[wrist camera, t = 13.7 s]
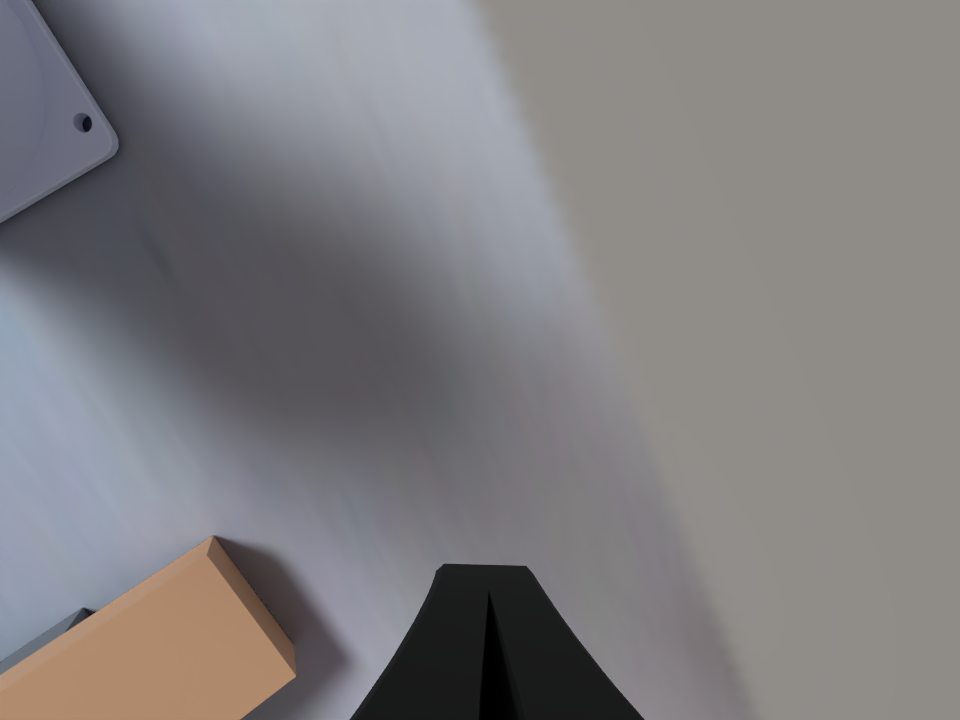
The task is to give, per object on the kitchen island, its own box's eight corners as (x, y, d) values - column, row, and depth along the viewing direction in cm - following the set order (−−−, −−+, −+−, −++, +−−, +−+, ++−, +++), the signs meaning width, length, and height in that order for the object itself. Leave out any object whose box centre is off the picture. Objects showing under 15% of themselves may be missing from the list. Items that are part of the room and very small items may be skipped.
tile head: (213, 535, 19) (-3, 676, 17) (206, 554, 17) (-37, 716, 15) (294, 646, 20) (99, 792, 18) (296, 676, 18) (78, 843, 16)
